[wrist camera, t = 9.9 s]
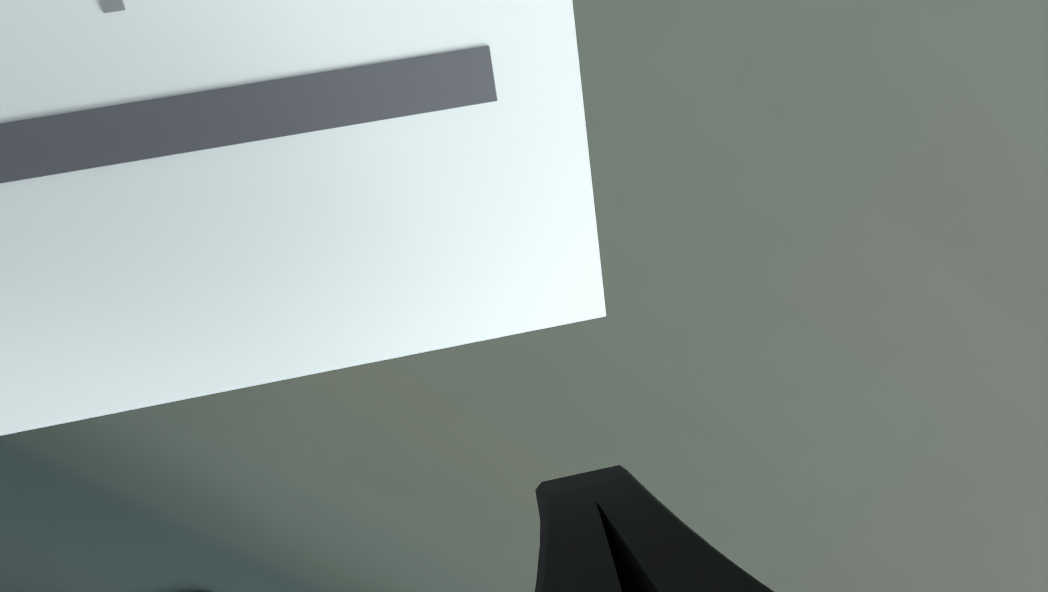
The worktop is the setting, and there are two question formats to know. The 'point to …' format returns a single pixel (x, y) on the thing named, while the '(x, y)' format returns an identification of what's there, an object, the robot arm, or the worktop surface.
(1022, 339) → the worktop surface
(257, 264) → the fader console
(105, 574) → the worktop surface
